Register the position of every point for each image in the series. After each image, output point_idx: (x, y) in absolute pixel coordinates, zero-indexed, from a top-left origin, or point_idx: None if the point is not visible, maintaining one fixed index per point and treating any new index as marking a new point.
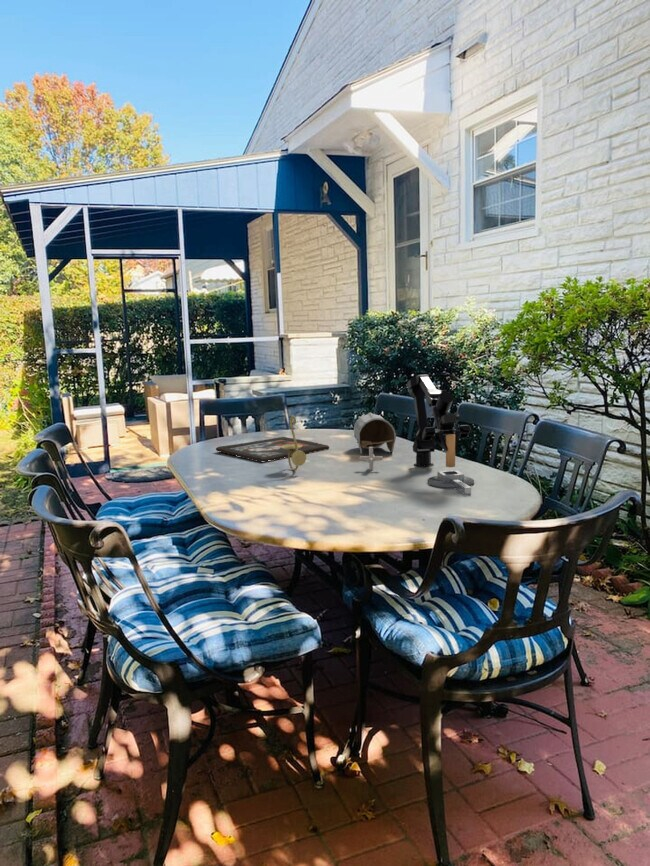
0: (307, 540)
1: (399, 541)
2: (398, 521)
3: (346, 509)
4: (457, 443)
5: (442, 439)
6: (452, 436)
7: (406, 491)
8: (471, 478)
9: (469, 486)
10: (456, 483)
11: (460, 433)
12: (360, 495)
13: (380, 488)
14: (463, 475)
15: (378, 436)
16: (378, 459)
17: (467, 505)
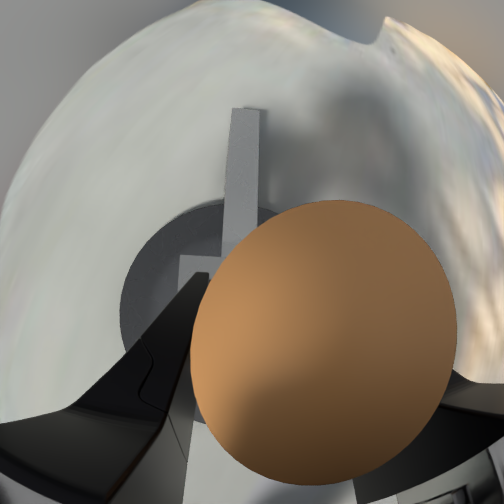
0: (491, 90)
1: (414, 30)
2: (427, 67)
3: (500, 163)
4: (164, 313)
5: None
6: (330, 213)
7: (427, 242)
8: (121, 314)
9: (232, 119)
10: (257, 192)
11: (2, 441)
12: (500, 247)
13: (473, 304)
14: (184, 255)
15: None
16: None
17: (291, 56)
